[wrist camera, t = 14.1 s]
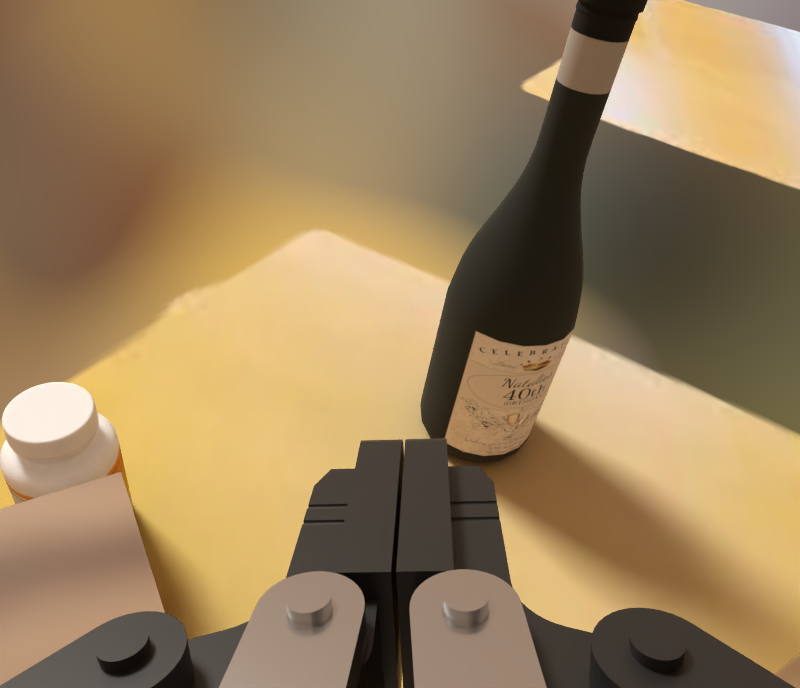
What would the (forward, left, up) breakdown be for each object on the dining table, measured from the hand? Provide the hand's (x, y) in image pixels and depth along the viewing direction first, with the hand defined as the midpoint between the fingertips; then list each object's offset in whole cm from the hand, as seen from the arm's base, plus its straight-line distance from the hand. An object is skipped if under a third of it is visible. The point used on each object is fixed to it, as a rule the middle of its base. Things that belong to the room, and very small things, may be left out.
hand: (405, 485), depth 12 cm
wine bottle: (+5, -26, -26) cm, 37 cm away
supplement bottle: (+20, -5, -26) cm, 33 cm away
